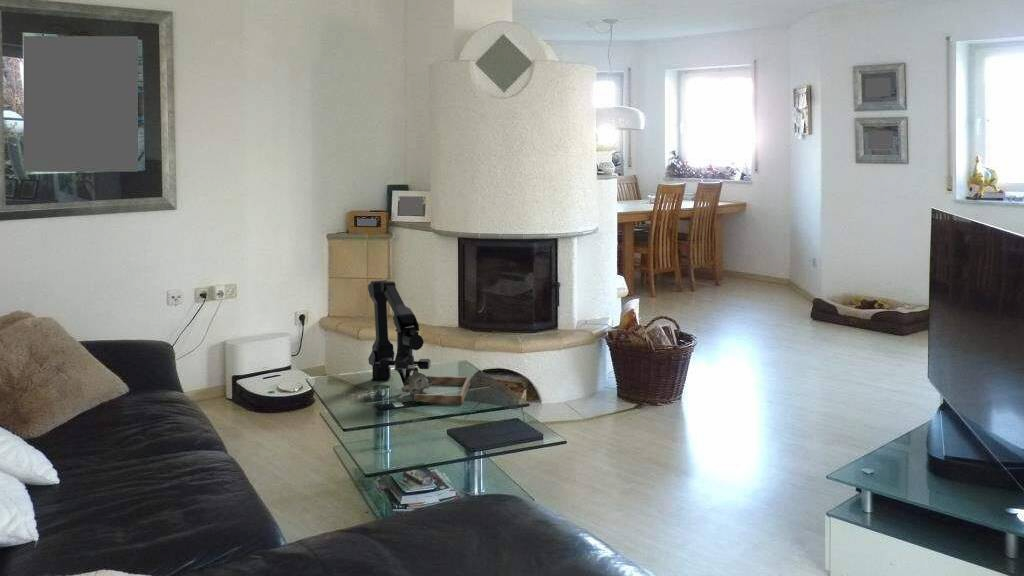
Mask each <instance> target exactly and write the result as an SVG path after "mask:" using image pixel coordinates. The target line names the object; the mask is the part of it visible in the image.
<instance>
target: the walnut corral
mask: <svg viewBox="0 0 1024 576" xmlns="http://www.w3.org/2000/svg"><path fill="white" fill-rule="evenodd" d="M428 376H429V377H430V378H431V379H432V384H431V385H443V386H444V385H445V386H452V385H451V384H456V385H455V386H462V388H461V390H460V391H459V394H433V393H432V394H431V393H427V394H426V393H423V394H422V393H419V394H415V399H414V402H415V401H424V402H429V403H428V404H441V405H442V404H443V405H445V404H446V405H447V404H448V405H462V404H463V403H464V400H465V398H466V396H467V393H468V391H469V388H470V385H471V377H470V376H443V375H441V376H440V375H438V376H437V375H436V376H435V375H428Z"/></svg>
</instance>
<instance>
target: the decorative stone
mask: <svg viewBox="0 0 1024 576" xmlns="http://www.w3.org/2000/svg"><path fill="white" fill-rule="evenodd" d="M418 368H419V367H418V366H415V369H414V370H413V371H412V374H410V375H408V376H407V379H406V380H405V382H404V385H403V387H401V392H403V393H407V394H408V393H410V395H411V396H412V397H413V399H414V398H415V394H422V392H423V391H424V390H425V389H426V390H427V389H430V388H431V386H432V385H433V384H432V379H431V378H430V377H429V376H430V375H425V374H424V373H421V372H419V369H418Z"/></svg>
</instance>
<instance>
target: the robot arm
mask: <svg viewBox="0 0 1024 576" xmlns="http://www.w3.org/2000/svg"><path fill="white" fill-rule="evenodd" d="M367 289H368V290H367V291H368V293H369V298H370V299H371V300H372V302H373V305H374V306H373V307H374V322H375V323H374V325H375V340H374V342H373V344H372V346H371V350H372V351H371V353H370V355H369V357H368V365H370V366H371V367H372V368H371V369H372V378H371V381H373V382H374V381H377V382H378V381H380V382H381V381H382V382H387V381H389V380H390V378H392V370H391V369H392V367H391V366H394V371H397V373H398V374H399V376H400V379H401V382H402V384H403V386H404V382H405V380H406V379H407V376H408V375H411V373H412V372H413V371H414V369H415V367H417V368H419V369H418V370H429V369H430V368H431V359H429V358H419V360H415V356H414V355H413V352H414V351H418V350H420V349H422V347H423V346H424V339H423V337H422V336H421V335H419V331H420V324H419V322H418V319H417V317H416V315H415V314H414V312H413V311H412V309H411V308H410V307H408V306H406V304H405V303H404V301H403V299H402V297H401V295H400V293H399V292H398V289H397V285H396V283H395V281H392V280H391V281H388V280H387V279H383V280H372V281H370V283H368V286H367ZM387 303H388V304H389V306H390V308H391V310H392V312H393V317H392V321H393V324H394V326H395V328H396V329H395V332H396V338H397V339H396V342H397V343H396V353H395V350H394V344H393V343H391V341H390V339H389V330H388V328H389V327H388V311H387V310H388V308H387V307H388V306H387ZM395 354H396V355H395Z"/></svg>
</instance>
